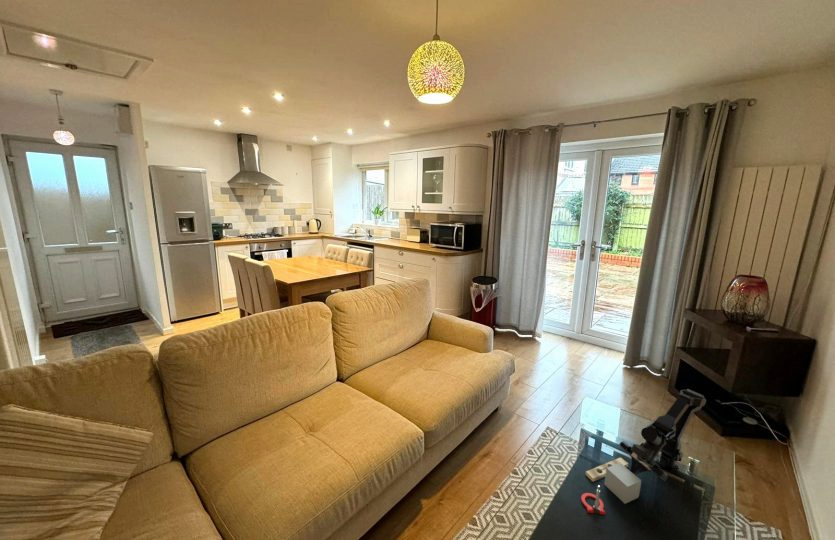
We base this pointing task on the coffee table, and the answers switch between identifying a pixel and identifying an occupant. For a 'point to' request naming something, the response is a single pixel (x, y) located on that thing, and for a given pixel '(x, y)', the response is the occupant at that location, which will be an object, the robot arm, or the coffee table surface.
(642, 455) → the robot arm
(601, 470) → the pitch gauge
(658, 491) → the coffee table surface
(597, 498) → the red shackle
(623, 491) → the block
